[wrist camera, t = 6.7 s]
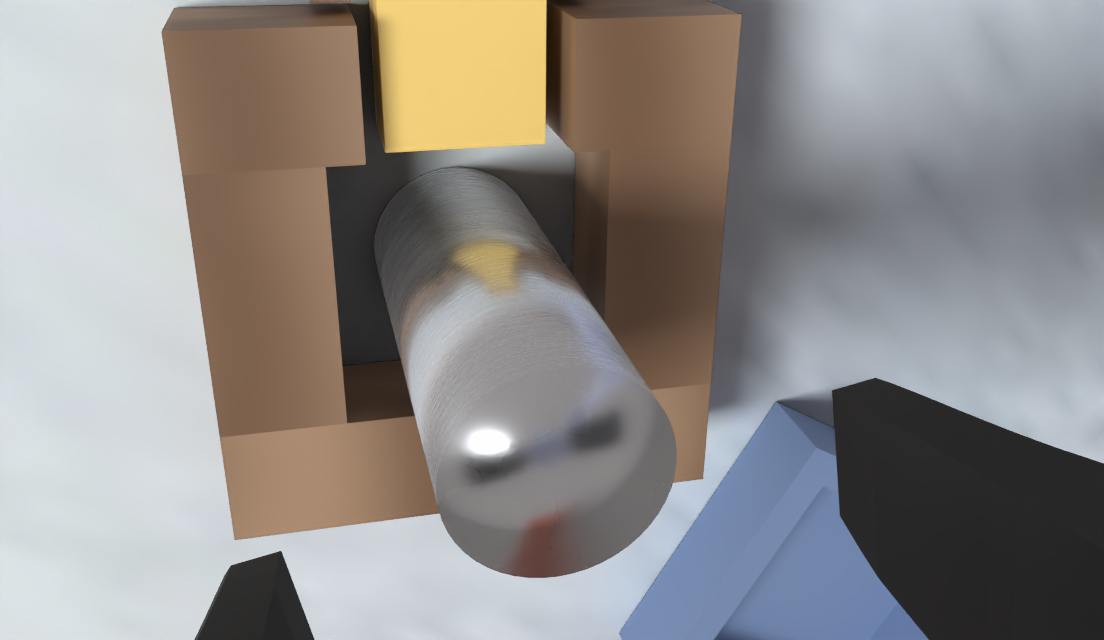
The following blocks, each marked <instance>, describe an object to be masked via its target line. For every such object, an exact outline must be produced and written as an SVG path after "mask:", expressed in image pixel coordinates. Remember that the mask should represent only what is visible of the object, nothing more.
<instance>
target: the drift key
mask: <svg viewBox="0 0 1104 640" xmlns="http://www.w3.org/2000/svg"><path fill="white" fill-rule="evenodd" d="M369 10H370V26H371V42H372V59H373V75H374V91H375V107H376V123H377V130H378V133H379V136H380V139H381V142H382V144H383V147H384V150H385V153H392V152H410V151H428V150H446V149H464V148H482V147H499V146H517V145H535V144H545V127H546V0H369Z"/></svg>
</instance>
